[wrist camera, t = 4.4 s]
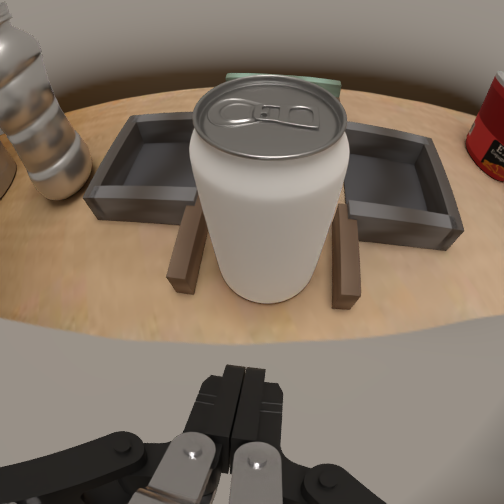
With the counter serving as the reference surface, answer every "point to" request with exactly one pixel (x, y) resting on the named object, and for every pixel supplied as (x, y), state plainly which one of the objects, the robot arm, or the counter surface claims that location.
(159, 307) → the counter surface
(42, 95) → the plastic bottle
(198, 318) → the counter surface
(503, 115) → the canned food
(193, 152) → the can
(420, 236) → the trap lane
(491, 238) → the counter surface
